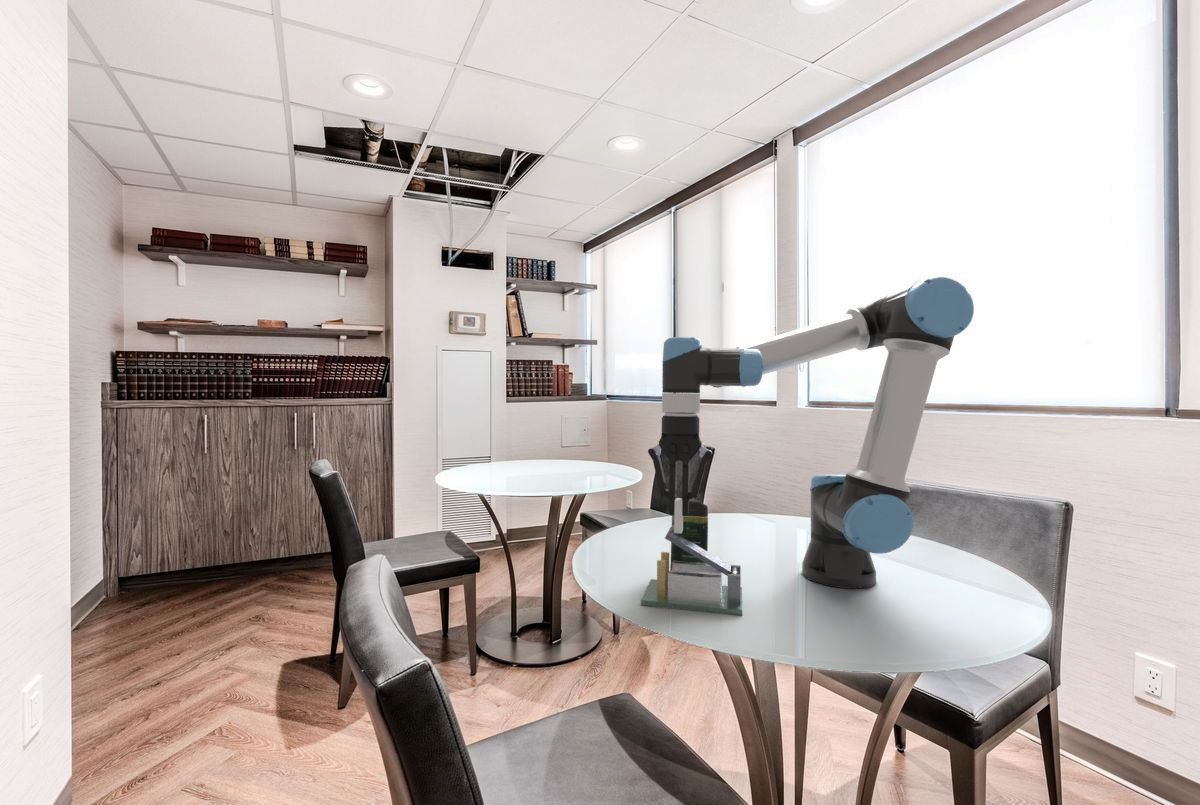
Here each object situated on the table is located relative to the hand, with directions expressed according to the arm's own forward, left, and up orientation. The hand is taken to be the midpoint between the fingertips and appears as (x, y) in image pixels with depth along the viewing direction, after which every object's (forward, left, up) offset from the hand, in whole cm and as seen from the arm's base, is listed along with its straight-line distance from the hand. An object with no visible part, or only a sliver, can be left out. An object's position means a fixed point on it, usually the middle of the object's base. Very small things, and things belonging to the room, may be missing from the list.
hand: (678, 531), depth 107 cm
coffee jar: (-1, -8, -14) cm, 16 cm away
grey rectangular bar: (-4, 0, -4) cm, 6 cm away
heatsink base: (-3, 0, -13) cm, 14 cm away
